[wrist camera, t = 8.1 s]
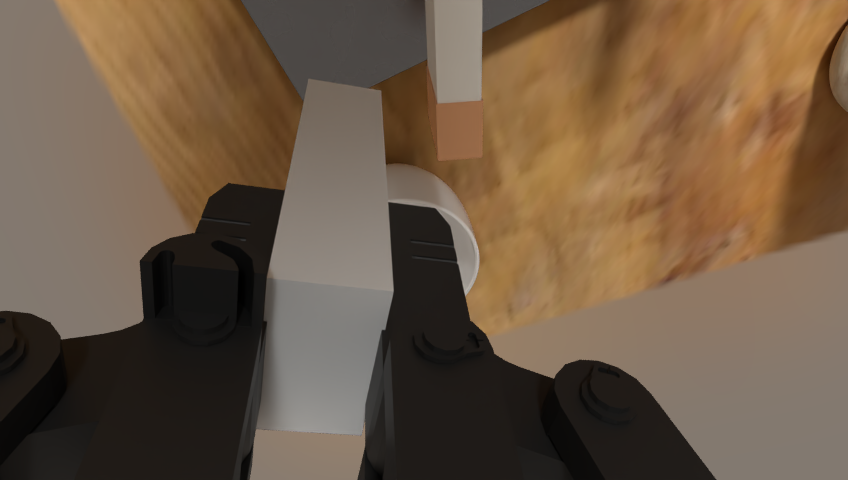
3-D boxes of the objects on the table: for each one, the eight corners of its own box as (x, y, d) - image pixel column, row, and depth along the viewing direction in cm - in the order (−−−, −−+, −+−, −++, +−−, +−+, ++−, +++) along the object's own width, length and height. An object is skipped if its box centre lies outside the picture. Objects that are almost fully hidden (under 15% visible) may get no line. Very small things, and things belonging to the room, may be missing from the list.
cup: (474, 232, 37) (493, 304, 32) (319, 274, 38) (311, 352, 33) (443, 118, 33) (459, 180, 27) (268, 169, 34) (249, 238, 28)
